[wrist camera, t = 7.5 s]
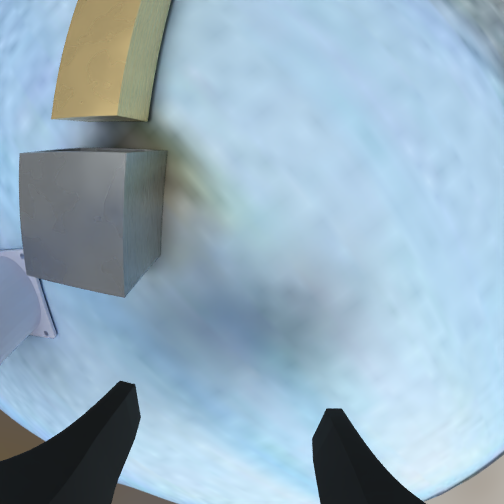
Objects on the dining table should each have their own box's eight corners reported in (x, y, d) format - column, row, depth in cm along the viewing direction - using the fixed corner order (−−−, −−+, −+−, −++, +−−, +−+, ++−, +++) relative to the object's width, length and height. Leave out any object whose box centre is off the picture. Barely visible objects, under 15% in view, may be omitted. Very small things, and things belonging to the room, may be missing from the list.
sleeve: (160, 255, 18) (124, 297, 13) (77, 242, 18) (26, 275, 13) (167, 150, 16) (126, 153, 11) (77, 147, 16) (19, 153, 11)
